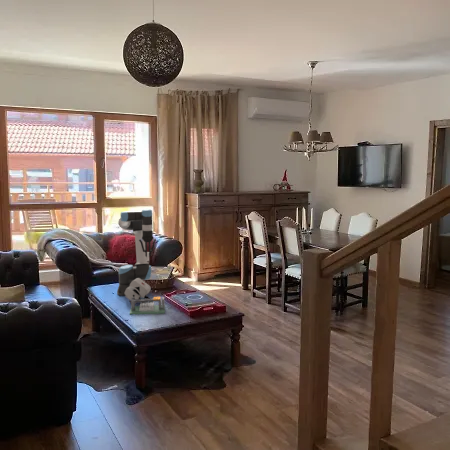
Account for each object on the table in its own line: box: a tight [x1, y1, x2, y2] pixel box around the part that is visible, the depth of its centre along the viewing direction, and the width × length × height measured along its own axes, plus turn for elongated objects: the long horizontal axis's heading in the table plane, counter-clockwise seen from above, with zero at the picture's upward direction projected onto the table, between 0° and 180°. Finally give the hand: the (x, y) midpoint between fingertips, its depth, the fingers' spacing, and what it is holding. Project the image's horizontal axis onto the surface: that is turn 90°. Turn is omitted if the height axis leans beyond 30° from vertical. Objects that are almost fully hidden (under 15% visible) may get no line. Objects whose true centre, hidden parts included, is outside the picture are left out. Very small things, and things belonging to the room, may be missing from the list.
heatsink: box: [139, 302, 155, 312], centre depth 341 cm, size 12×10×6 cm
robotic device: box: [124, 278, 152, 305], centre depth 358 cm, size 10×21×20 cm
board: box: [129, 304, 166, 315], centre depth 342 cm, size 16×25×1 cm, turn 97°
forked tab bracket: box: [130, 298, 136, 311], centre depth 340 cm, size 7×2×8 cm, turn 7°
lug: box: [158, 296, 165, 310], centre depth 342 cm, size 6×4×8 cm
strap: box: [133, 296, 162, 304], centre depth 340 cm, size 6×21×2 cm, turn 97°
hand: (148, 260), depth 351 cm, fingers closed
